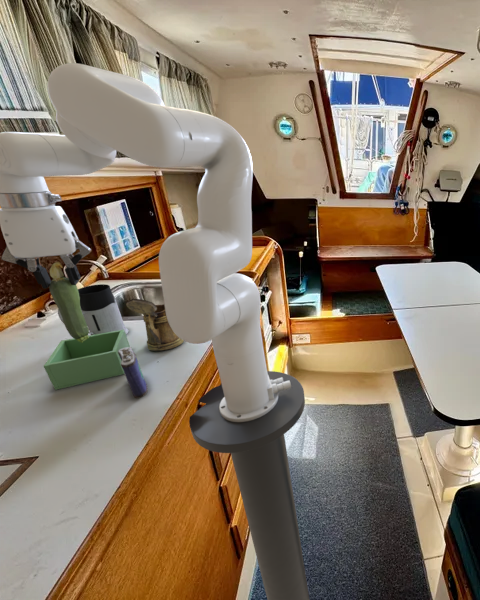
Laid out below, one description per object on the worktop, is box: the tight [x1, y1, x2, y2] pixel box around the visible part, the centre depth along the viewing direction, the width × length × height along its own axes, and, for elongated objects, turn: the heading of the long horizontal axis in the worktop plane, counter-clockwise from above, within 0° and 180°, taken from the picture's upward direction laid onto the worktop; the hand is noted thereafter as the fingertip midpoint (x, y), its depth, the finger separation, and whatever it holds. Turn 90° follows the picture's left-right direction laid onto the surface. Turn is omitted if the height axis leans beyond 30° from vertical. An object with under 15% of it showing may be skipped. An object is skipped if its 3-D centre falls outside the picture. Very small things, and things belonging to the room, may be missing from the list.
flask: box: [118, 346, 148, 399], centre depth 74 cm, size 9×3×11 cm, turn 43°
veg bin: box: [43, 330, 131, 391], centre depth 81 cm, size 13×13×7 cm
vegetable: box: [48, 261, 90, 343], centre depth 75 cm, size 4×4×20 cm
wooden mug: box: [125, 298, 185, 352], centre depth 88 cm, size 9×14×18 cm, turn 14°
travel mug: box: [57, 283, 129, 335], centre depth 91 cm, size 9×14×15 cm, turn 172°
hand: (61, 284), depth 73 cm, fingers closed on vegetable, 4 cm apart
